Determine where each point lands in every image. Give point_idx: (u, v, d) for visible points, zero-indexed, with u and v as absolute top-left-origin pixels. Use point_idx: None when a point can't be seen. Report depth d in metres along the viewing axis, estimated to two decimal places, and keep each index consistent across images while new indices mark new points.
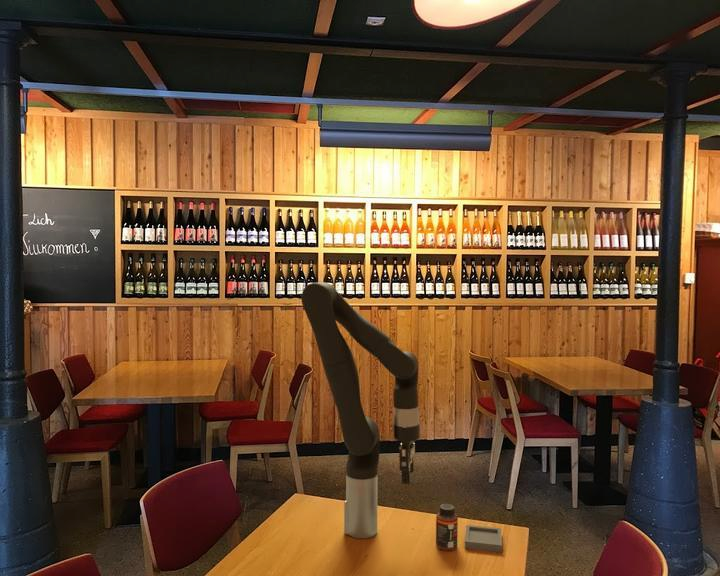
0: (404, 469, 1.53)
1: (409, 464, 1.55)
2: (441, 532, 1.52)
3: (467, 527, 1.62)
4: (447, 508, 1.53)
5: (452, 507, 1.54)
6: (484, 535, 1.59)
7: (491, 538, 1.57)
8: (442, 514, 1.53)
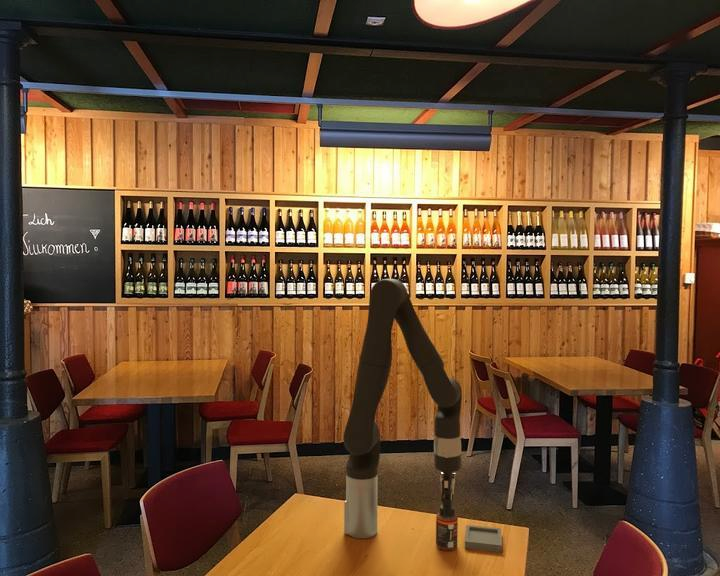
0: (446, 501, 1.47)
1: (451, 496, 1.49)
2: (441, 532, 1.52)
3: (467, 527, 1.62)
4: None
5: (452, 507, 1.54)
6: (484, 535, 1.59)
7: (491, 538, 1.57)
8: (442, 514, 1.53)
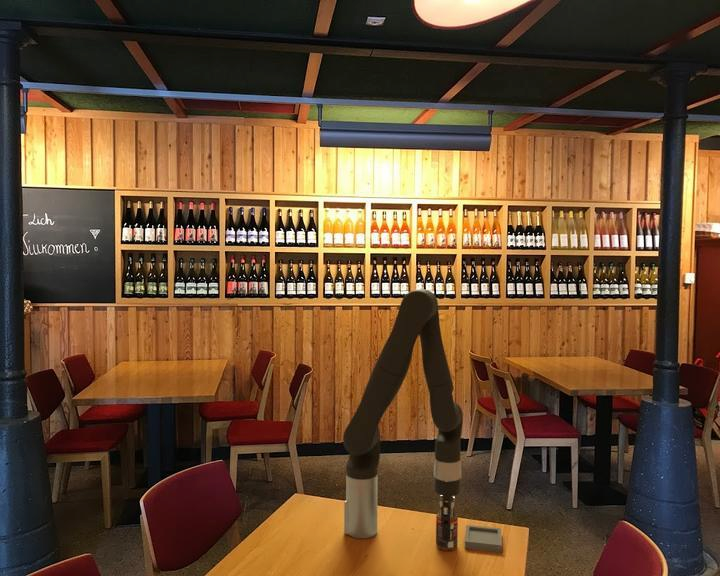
0: (445, 526, 1.49)
1: (450, 521, 1.50)
2: (441, 532, 1.52)
3: (467, 527, 1.62)
4: None
5: None
6: (484, 535, 1.59)
7: (491, 538, 1.57)
8: None
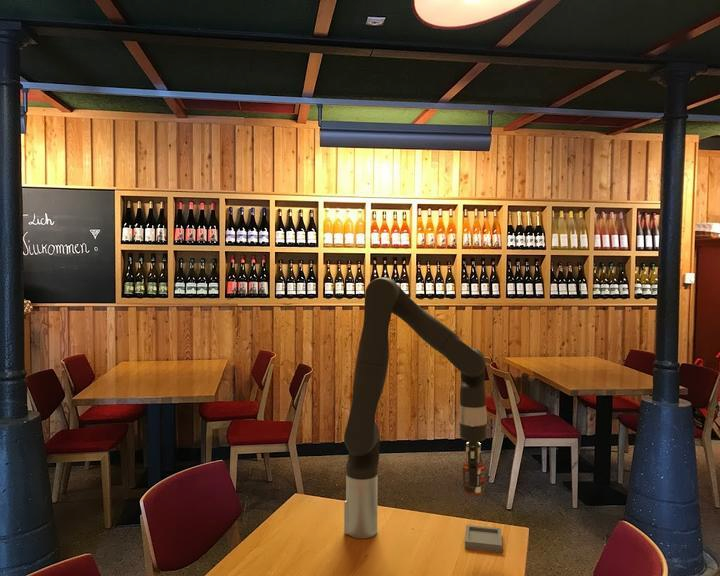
0: (473, 470, 1.49)
1: (477, 465, 1.51)
2: (468, 477, 1.53)
3: (467, 527, 1.62)
4: None
5: None
6: (484, 535, 1.59)
7: (491, 538, 1.57)
8: None
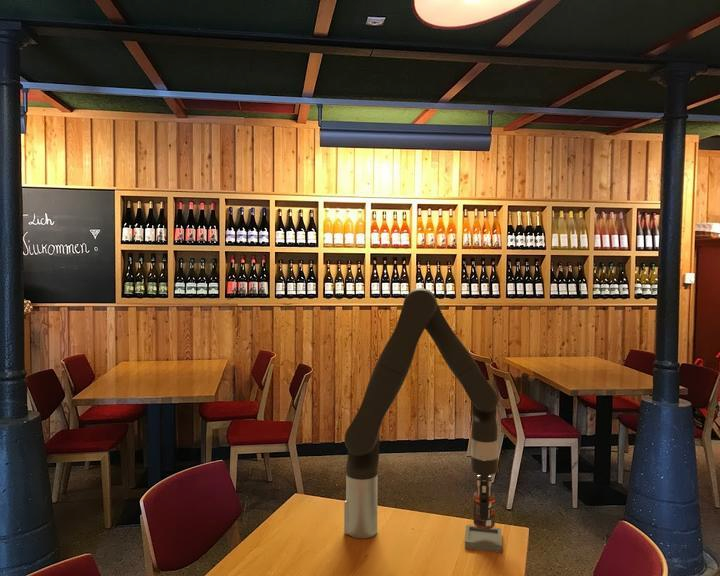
0: (484, 504, 1.51)
1: None
2: (479, 510, 1.55)
3: (467, 527, 1.62)
4: None
5: None
6: (484, 535, 1.59)
7: (491, 538, 1.57)
8: None
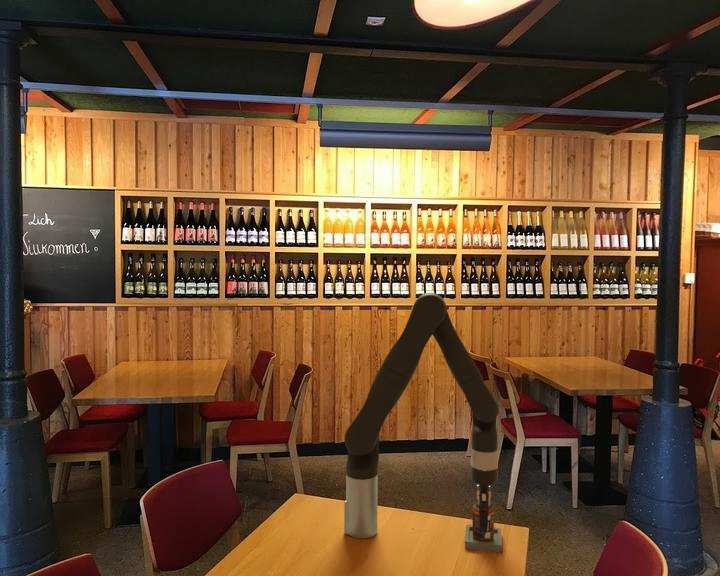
0: (484, 514, 1.50)
1: None
2: (478, 523, 1.55)
3: (467, 527, 1.62)
4: None
5: None
6: None
7: None
8: None
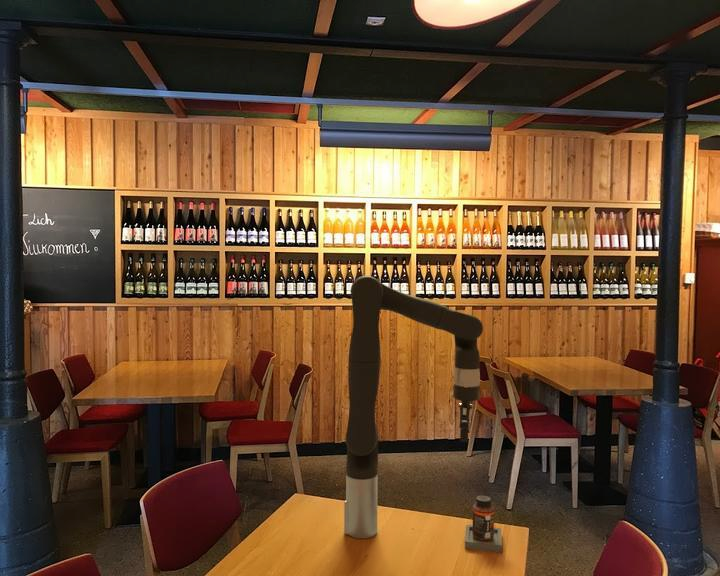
0: (464, 427, 1.56)
1: None
2: (478, 523, 1.55)
3: (467, 527, 1.62)
4: (484, 499, 1.56)
5: (489, 499, 1.57)
6: None
7: None
8: (479, 506, 1.56)
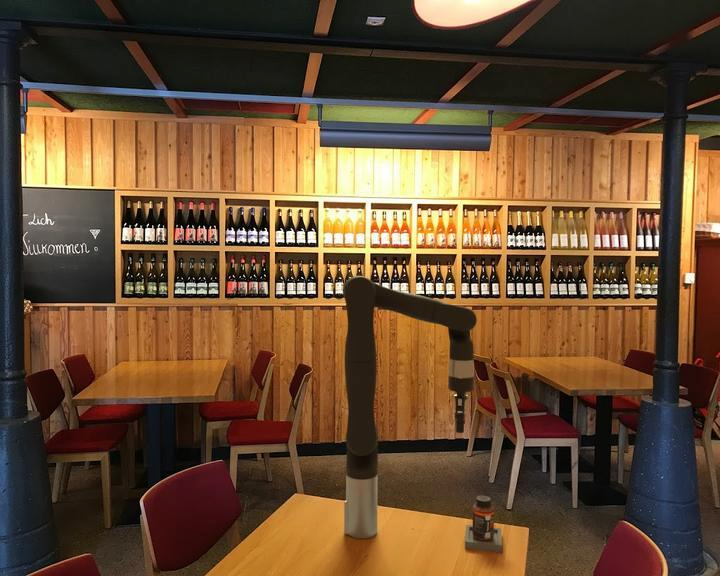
0: (460, 418, 1.58)
1: None
2: (478, 523, 1.55)
3: (467, 527, 1.62)
4: (484, 500, 1.56)
5: (489, 499, 1.57)
6: None
7: None
8: (479, 506, 1.56)
